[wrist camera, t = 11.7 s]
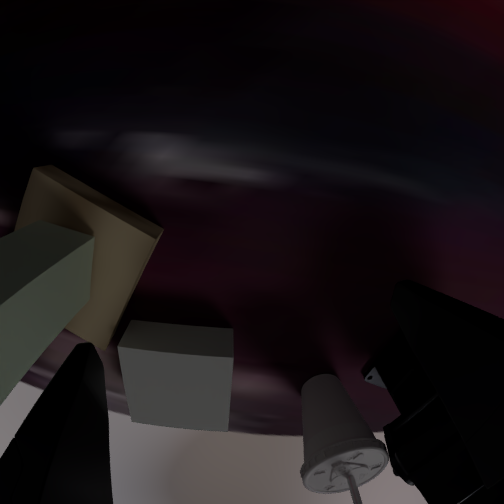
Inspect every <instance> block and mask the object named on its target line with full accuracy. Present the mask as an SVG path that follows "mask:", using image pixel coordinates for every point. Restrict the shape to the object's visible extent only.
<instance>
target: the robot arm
mask: <svg viewBox="0 0 504 504" xmlns="http://www.w3.org/2000/svg"><path fill="white" fill-rule="evenodd" d="M391 309H392V311H393V313H394V315H395V317H396V319H397V321H398V323H399V325H400V327H401V330H400V331H399V332H398V334H397V335H396V336H395V337H394V339H393V340H392V341H391V343H390V344H389V345H388V346H387V348H386V349H385V350H384V351H383V353H382V354H381V355H380V356H379V357H378V359H377V360H376V361H375V362H374V363H373V365H372V366H371V367H370V368H369V369H368V371H367V372H366V373H365V374H364V379H365V381H366V382H369V383H372V384H374V385H377V386H380V387H383V388H386V389H387V390H388V392H389V393H390V395H391V397H392V399H393V401H394V402H395V404H396V406H397V408H398V410H399V411H400V413H401V415H400V416H399V417H398V418H396V419H395V420H394V421H392V422H391V423H390V424H387V425H386V426H384V427H383V430H384V434H385V435H384V437H385V441H386V445H387V449H388V454H389V458H390V462H391V466H392V468H393V473H394V474H395V475H396V476H400V477H401V478H402V479H403V480H404V481H405V482H406V483H407V484H409V485H415V486H416V487H417V488H418V490H419V491H420V492H421V494H422V495H423V497H424V498H425V500H426V501H427V503H428V504H504V319H502V318H499V317H498V316H495V315H493V314H491V313H488V312H486V311H484V310H481V309H479V308H476V307H474V306H472V305H469V304H467V303H465V302H462V301H460V300H457V299H455V298H453V297H450V296H448V295H445V294H443V293H440V292H438V291H436V290H433V289H431V288H428V287H426V286H423V285H421V284H418V283H416V282H413V281H411V280H403V281H400V282H398V283H397V284H396V285H395V289H394V292H393V296H392V299H391ZM369 376H370V377H369ZM0 504H113V498H112V486H111V473H110V453H109V418H108V408H107V399H106V389H105V377H104V367H103V364H102V361H101V359H100V357H99V355H98V353H97V351H96V349H95V347H94V345H93V344H92V343H91V342H85V343H79V344H77V345H76V346H75V347H74V349H73V350H72V352H71V353H70V354H69V356H68V357H67V358H66V360H65V361H64V363H63V364H62V365H61V367H60V368H59V370H58V371H57V372H56V374H55V375H54V377H53V378H52V380H51V381H50V382H49V384H48V385H47V387H46V388H45V390H44V391H43V393H42V394H41V396H40V397H39V398H38V400H37V402H36V403H35V404H34V406H33V408H32V409H31V411H30V412H29V414H28V415H27V417H26V419H25V420H24V421H23V423H22V425H21V426H20V428H19V429H18V431H17V433H16V434H15V438H13V439H12V440H11V442H10V444H9V446H8V447H7V449H6V450H5V452H4V453H3V455H2V456H1V458H0Z"/></svg>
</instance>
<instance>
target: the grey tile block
mask: <svg viewBox="0 0 504 504" xmlns="http://www.w3.org/2000/svg"><path fill="white" fill-rule="evenodd" d="M117 347H118V353H119V359H120V365H121V371H122V377H123V382H124V387H125V392H126V397H127V402H128V407H129V411H130V416H131V420H132V422H137V423H143V424H151V425H158V426H166V427H174V428H183V429H194V430H207V431H224V432H228V422H229V409H230V396H231V383H232V371H233V358H234V355H233V329H231V328H216V327H202V326H190V325H179V324H168V323H158V322H148V321H139V320H131V321H130V323H129V325H128V327H127V329H126V331H125V333H124V335H123V337H122V339H121V340H120V342H119V344H118V346H117Z"/></svg>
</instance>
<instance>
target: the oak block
mask: <svg viewBox="0 0 504 504" xmlns="http://www.w3.org/2000/svg"><path fill="white" fill-rule="evenodd" d="M38 220H42V221H45V222H49V223H52V224H55V225H58V226H61V227H65V228H68V229H71V230H74V231H78V232H81V233H84V234H88V235H91V236H94V237H95V241H94V250H93V261H92V272H91V286H90V300H89V301H88V302H87V303H86V304H85V305H84V306H83V307H82V308H81V310H80V311H79V312H78V313H77V314H76V315H75V316H74V317H73V318H72V319H71V321H70V322H69V323H68V324H67V325H66V326H65V327H64V328H66V329H67V330H69V331H71V332H72V333H74V334H76V335H77V336H79V337H81V338H83V339H84V340H86V341H88V342H91V343H92V344H93V345H95V346H96V347H98V348H100V349H102V350H104V351H105V350H106V348H107V347H108V345H109V343H110V341H111V339H112V337H113V336H114V334H115V331H116V329H117V327H118V325H119V322H120V320H121V318H122V315H123V313H124V311H125V309H126V306H127V304H128V302H129V300H130V298H131V296H132V293H133V291H134V289H135V287H136V285H137V283H138V281H139V278H140V276H141V274H142V272H143V270H144V268H145V266H146V264H147V262H148V260H149V258H150V256H151V254H152V252H153V250H154V248H155V246H156V244H157V242H158V240H159V238H160V236H161V234H162V232H163V230H164V229H163V228H161V227H159V226H158V225H156V224H154V223H152V222H150V221H149V220H147V219H145V218H143V217H142V216H140V215H138V214H136V213H135V212H133V211H131V210H129V209H127V208H126V207H124V206H122V205H120V204H119V203H117V202H115V201H113V200H112V199H110V198H108V197H106V196H105V195H103V194H101V193H100V192H98V191H96V190H94V189H93V188H91V187H89V186H87V185H86V184H84V183H82V182H81V181H79V180H77V179H75V178H74V177H72V176H70V175H69V174H67V173H65V172H63V171H62V170H60V169H58V168H57V167H55V166H53V165H46V166H41V167H35V168H33V170H32V173H31V176H30V179H29V182H28V185H27V188H26V191H25V195H24V198H23V201H22V204H21V208H20V211H19V215H18V219H17V223H16V226H15V230H14V231H16V230H18V229H21V228H23V227H25V226H27V225H29V224H31V223H34V222H36V221H38Z"/></svg>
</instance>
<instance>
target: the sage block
mask: <svg viewBox="0 0 504 504" xmlns="http://www.w3.org/2000/svg"><path fill="white" fill-rule="evenodd" d="M94 241H95V237H94V236H91V235H88V234H84V233H81V232H78V231H74V230H71V229H68V228H65V227H61V226H58V225H55V224H52V223H49V222H45V221H42V220H38V221H36V222H34V223H31V224H29V225H27V226H25V227H23V228H21V229H18V230H16V231H14V232H12V233H10V234H8V235H6V236H4V237H2V238H0V405H1V404H2V403H3V401H4V400H5V399H6V398H7V396H8V395H9V394H10V392H11V391H12V390H13V388H14V387H15V386H16V384H17V383H18V382H19V381H20V380H21V378H22V377H23V376H24V375H25V373H26V372H27V371H28V370H29V368H30V367H31V366H32V365H33V364H34V362H35V361H36V360H37V359H38V358H39V356H40V355H41V354H42V353H43V352H44V350H45V349H46V348H47V347H48V346H49V345H50V343H51V342H52V341H53V340H54V339H55V338H56V336H57V335H58V334H59V333H60V332H61V331H62V330H63V328H64V327H65V326H66V325H67V324H68V323H69V322H70V321H71V319H72V318H73V317H74V316H75V315H76V314H77V313H78V312H79V311H80V310H81V308H82V307H83V306H84V305H85V304H86V303H87V302H88V301H89V300H90V286H91V272H92V261H93V250H94Z"/></svg>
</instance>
